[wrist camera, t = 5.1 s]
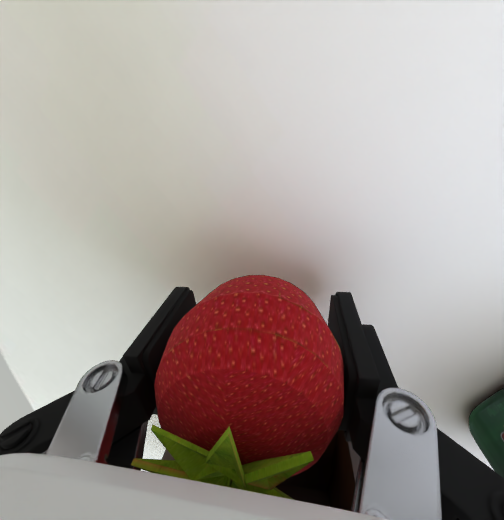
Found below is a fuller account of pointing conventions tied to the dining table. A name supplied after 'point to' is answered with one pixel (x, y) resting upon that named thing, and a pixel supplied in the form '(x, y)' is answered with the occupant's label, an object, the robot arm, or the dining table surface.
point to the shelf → (324, 476)
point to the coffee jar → (490, 430)
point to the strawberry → (248, 388)
